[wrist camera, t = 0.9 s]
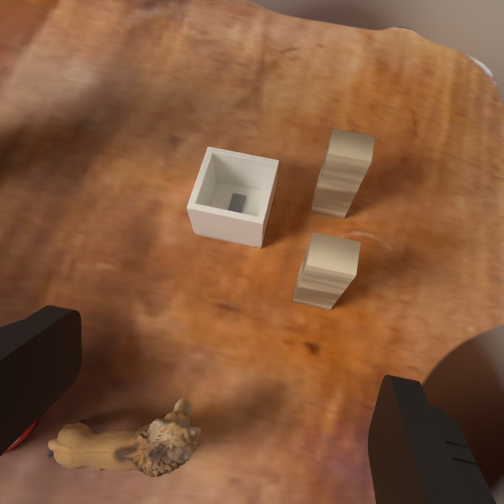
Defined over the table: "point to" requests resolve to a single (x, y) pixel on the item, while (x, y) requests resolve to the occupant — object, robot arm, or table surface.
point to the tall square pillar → (326, 270)
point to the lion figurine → (130, 445)
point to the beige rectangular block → (342, 172)
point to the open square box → (233, 196)
